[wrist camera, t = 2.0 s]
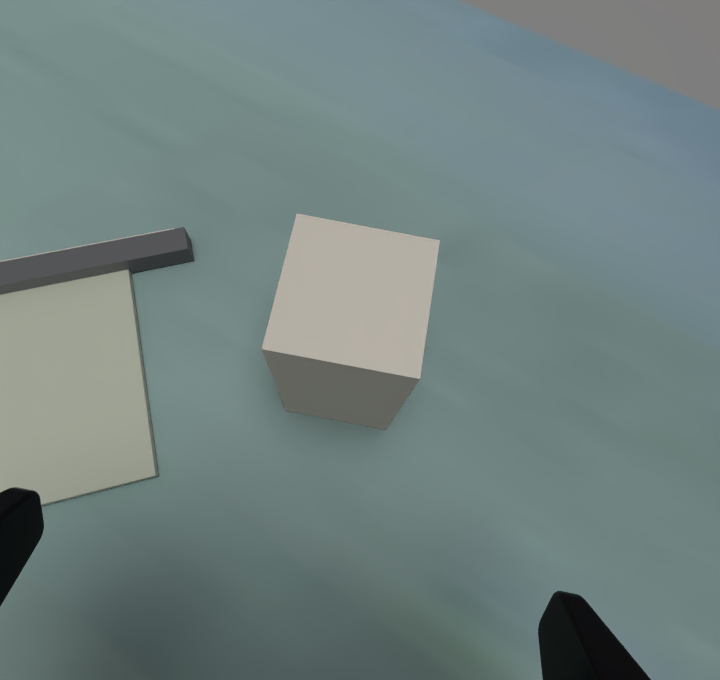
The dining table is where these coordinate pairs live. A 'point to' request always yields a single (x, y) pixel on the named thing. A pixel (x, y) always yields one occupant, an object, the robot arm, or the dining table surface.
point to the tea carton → (350, 320)
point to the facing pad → (73, 389)
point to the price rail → (96, 260)
